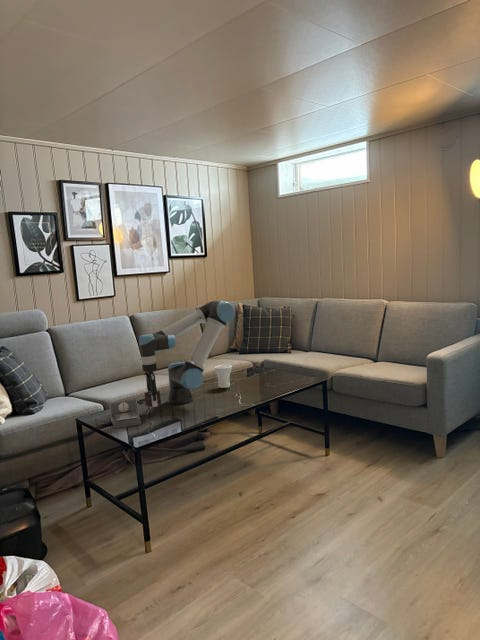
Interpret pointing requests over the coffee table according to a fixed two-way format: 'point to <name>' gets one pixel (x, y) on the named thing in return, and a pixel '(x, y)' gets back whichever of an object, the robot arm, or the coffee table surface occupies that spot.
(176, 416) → the coffee table surface
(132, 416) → the pan
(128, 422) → the scale
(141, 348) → the robot arm
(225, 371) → the cup
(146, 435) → the coffee table surface
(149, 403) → the box
